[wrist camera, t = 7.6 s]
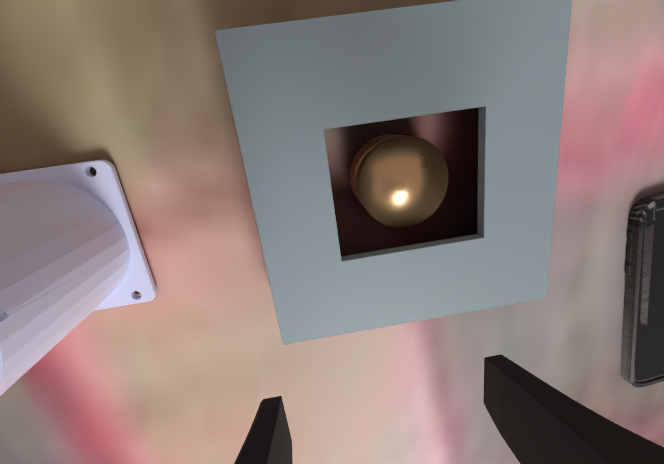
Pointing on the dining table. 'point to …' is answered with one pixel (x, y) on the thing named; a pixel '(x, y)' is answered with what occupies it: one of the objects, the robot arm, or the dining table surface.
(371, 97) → the box
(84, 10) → the dining table surface
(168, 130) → the dining table surface
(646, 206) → the phone
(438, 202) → the disc
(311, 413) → the dining table surface
